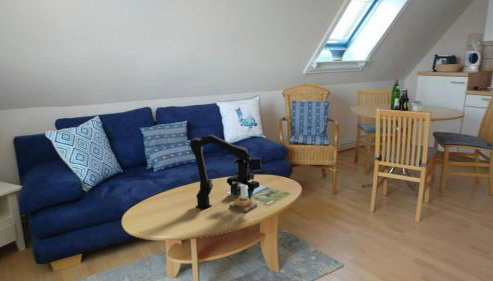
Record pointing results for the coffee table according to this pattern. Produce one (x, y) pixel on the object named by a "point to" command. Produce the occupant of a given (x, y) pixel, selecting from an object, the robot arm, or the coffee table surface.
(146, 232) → the coffee table surface
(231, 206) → the keeper plate
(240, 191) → the medicine bottle
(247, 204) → the brown hollow square block
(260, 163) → the robot arm
